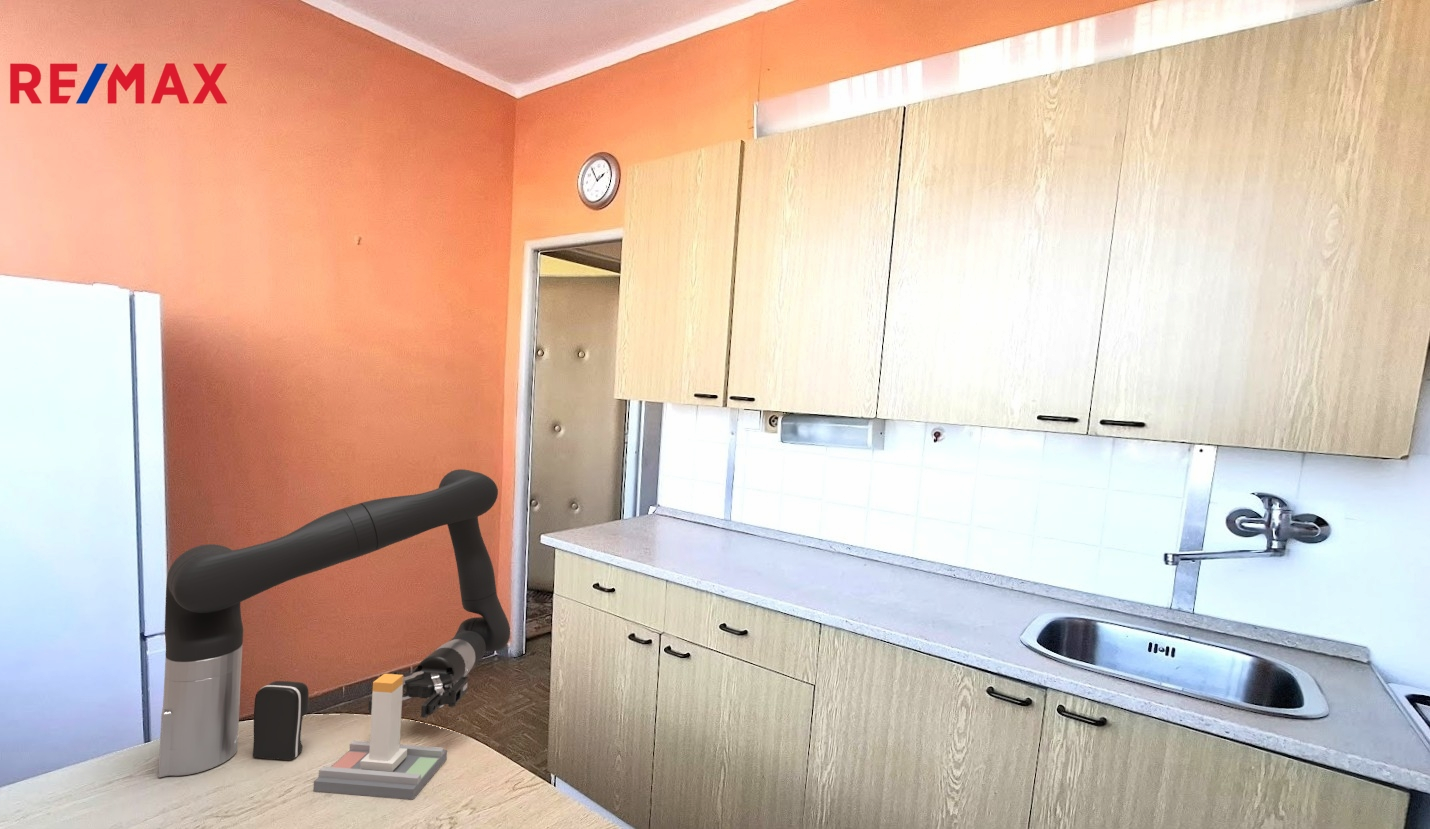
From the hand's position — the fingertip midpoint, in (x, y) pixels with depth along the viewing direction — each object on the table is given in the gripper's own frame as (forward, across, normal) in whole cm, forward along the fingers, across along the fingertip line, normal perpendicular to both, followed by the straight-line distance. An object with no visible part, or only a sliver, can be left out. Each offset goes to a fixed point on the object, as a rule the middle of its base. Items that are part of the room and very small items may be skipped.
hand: (397, 709), depth 95 cm
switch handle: (+3, 0, +7) cm, 7 cm away
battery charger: (0, -19, +9) cm, 21 cm away
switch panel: (+3, 0, +8) cm, 9 cm away
